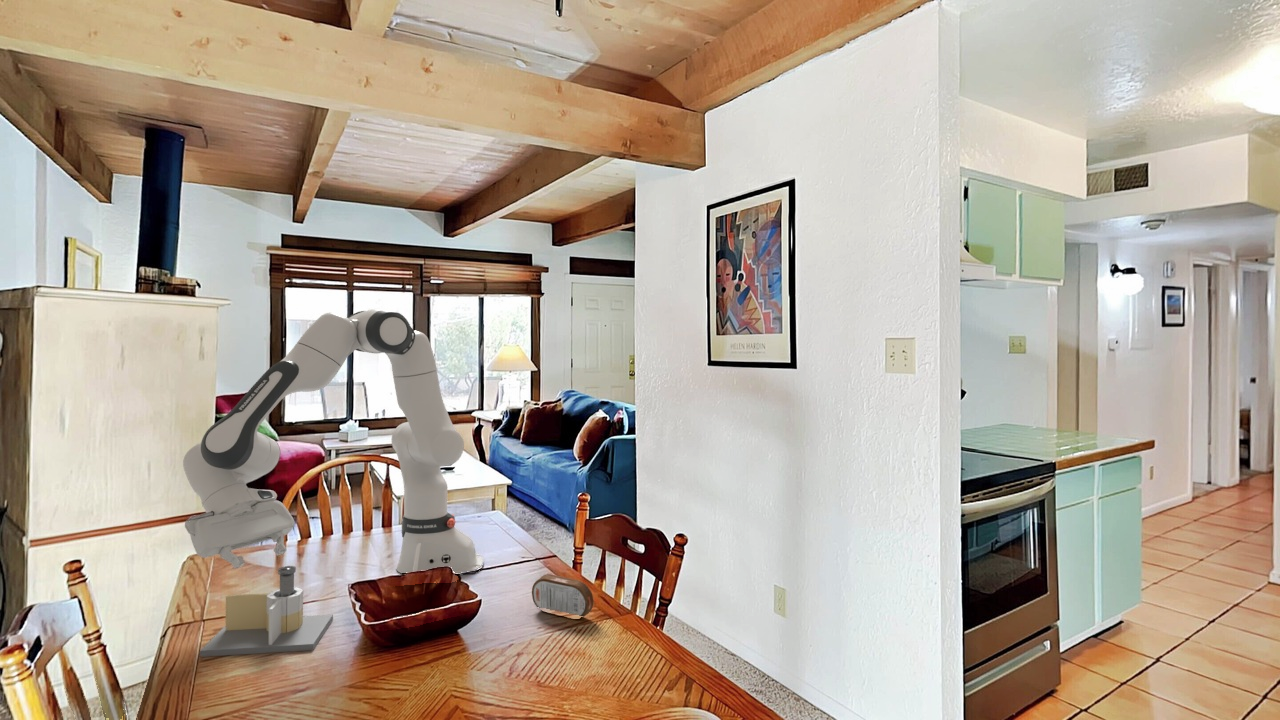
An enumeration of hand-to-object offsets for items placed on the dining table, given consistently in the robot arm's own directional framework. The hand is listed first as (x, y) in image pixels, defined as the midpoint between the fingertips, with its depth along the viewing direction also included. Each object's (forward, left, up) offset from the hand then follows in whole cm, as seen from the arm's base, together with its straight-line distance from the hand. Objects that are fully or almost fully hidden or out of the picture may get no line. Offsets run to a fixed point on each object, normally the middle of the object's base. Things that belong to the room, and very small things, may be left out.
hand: (261, 559), depth 137 cm
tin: (-63, +3, -14) cm, 65 cm away
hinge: (-4, +6, -14) cm, 16 cm away
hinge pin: (-6, +4, -13) cm, 15 cm away
